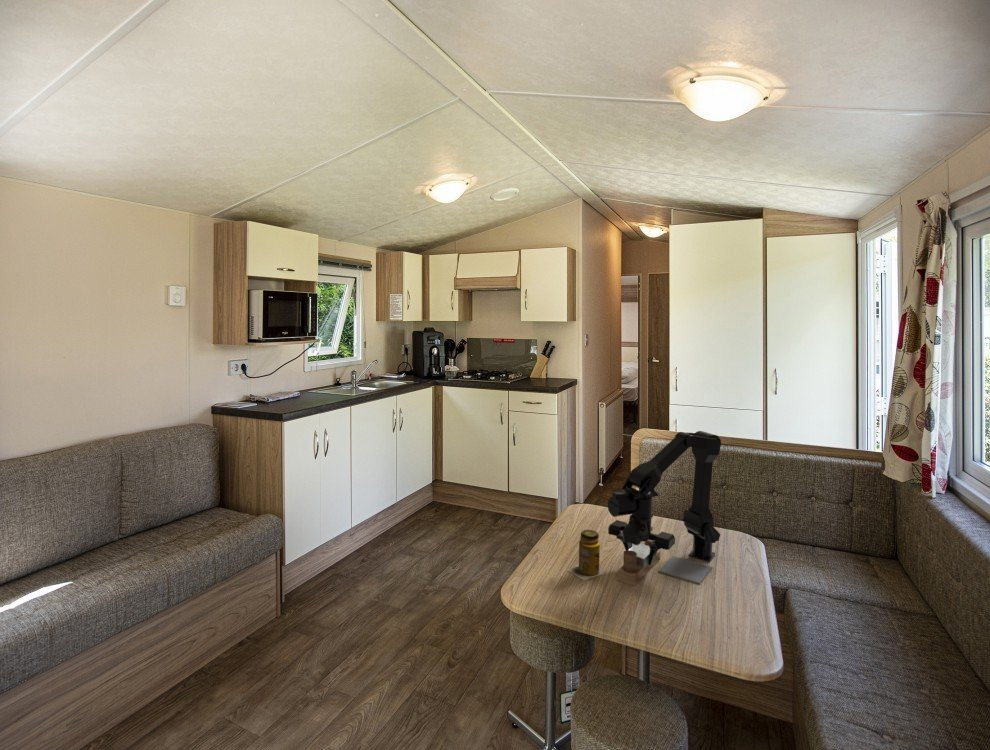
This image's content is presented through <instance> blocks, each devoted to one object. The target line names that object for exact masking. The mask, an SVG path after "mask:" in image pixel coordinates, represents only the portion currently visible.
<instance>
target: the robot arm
mask: <svg viewBox="0 0 990 750" xmlns="http://www.w3.org/2000/svg"><path fill="white" fill-rule="evenodd" d="M721 446H722V439H721V438H720V436H718V435H717V434H713V433H709V432H705V431H702V430H698V431H696V432H694V433H693V432H683V431H680V432H677V433H676V434H675V436H674V437H673V439H672V440H670V441H669V442H668V443H667V444H666V445H665V446H664V447H663V448H662V449H661V450H659V452H658V453H656V455H655V456H653V457H652V458H651V459H650V460H649V461H647V462H643V463H640V464H638V465H637V466H635V467H634V468H633V469H632V470H630V472H629V475H628V477H627V478H626V481H625V482H624V484H623V485H622V487H621V491H614V492H612V493H611V494H612V495H611V496H609V498H608V500H607V503H606V504H607V510H608V512H609V514H610V515H611V516H612V517H614V518H616V517H622V516H628V515H629V520H628V522H626V521H621V520H618V519H616V520H615V521H613V522H612V523H610V524H609V525H608V527H607V534H608V535H612V536H615V537H616V538H617V539H618V540H620V541H621V542H622V545H623V546H624V549H625V550H624V551H626V550H629V549H630V548H631V547H632V546H633V545H639V544H641V543H642V542H644V543H645V542H646V541H647V540H648V539H649V540H652V544H651V545H650V546H649V548H650V554H649V565H651V564H652V562H653V560H654V558H655V555H656V553H657V551H658V550H661V549H663V550H670V549H672V547H673V546H674V545H675V544H676V537H675V536H674V534H673V533H668V532H664V531H660V532H659V534H657V533H653V532H652V531H653V526H652V518H654V513H652V511H653V498H655V497H658V496H659V493H658V492H656V490H655V488H657V486H658V484H659V483H660V482H661V480H662V476H663V473H664V472H665V471H666V470H667V469H668V468H670V467H671V466H672V465H673V464H674V463H675V462H676V461H677V460H678V459H679V458H681V456H682V455H683V454H684V453H685V452H686V451H687V450H688V449H689V448H691V451H692V454H693V457H694V459H695V464H694V476H693V477H694V478H693V486H692V487H693V490H692V497H691V498H692V499H691V500H692V501H691V505H690V506H689V507H688V509H687V508H685V509H684V511H683V519H682V521H683V524H684V527H685V528H686V530H687V533H688V534H690V535H691V536H693V539H692V550H691V551H690V552H689V553H688V556H689V557H692V558H695V559H698V560H703V561H706V562H711V561H712V559H714V558H715V556H716V552H714V551H713V544H715V543H716V542H719V541H720V537H721V533H720V532H719V531H718V530H717V529H716V527H714V516H713V513H712V511H711V509H710V499H711V498H710V497H711V489H712V488H711V486H712V479H713V477H712V474H713V466H714V465H713V463H714V461H715V460H716V459H717V458H718V457H719V456H720V451H721ZM634 487H636V488H637V489H636V488H634Z"/></svg>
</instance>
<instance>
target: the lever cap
mask: <svg viewBox="0 0 990 750" xmlns="http://www.w3.org/2000/svg"><path fill="white" fill-rule="evenodd" d="M629 550H631V551H634V552H636V553H637V559H636V567H640V568H643V569H644V568H645V567H646V566H647V565H648V564H649V554H650V548H649V546H647V545H645V544H642V543H640V544H639V545H634V544H632V547H631V548H630V549H629Z"/></svg>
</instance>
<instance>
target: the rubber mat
mask: <svg viewBox="0 0 990 750" xmlns="http://www.w3.org/2000/svg"><path fill="white" fill-rule="evenodd" d="M712 569H713V567H712V566H709V565H707V564H702V563H701V562H700V563H699V562H697V561H696V562H695V561H693V560H688V559H685V558H682V557H678V556H674V555H672V556H671V557H670V558H669V559H668V560H667V561H665V563H664V564H663V565H662V566H661V567H660V568H659V569H658V573H660V574H662V575H663V574H664V575H667V576H671V577H674V578H677V579H680V580H683V581H687V582H691V583H693V584H697V585H701V584H702V583H703V581H705V579H706V577H707V576H708V574H710V572H711V570H712Z"/></svg>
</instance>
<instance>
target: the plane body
mask: <svg viewBox="0 0 990 750" xmlns="http://www.w3.org/2000/svg"><path fill="white" fill-rule="evenodd" d="M651 544H652V540H649V539H648V540H647V541H646V542H644V545H647V546H650V545H651ZM636 559H637V553H636V552H634V551H631V550H624V551H623V565H622V566H621V567H620V568H619V569H617V581H619V582H622V583H625V584H628V585H631V586H635V585H636V584H637V583H639V581H640V580H642V578H643V577H644V576H646V575H647V574H648V572H649V571H650V570H652V569H653V568H654V567H655V566H656V564H658V563H659V561H661V549H659V550H658V551H657V553H656V555H655V558H654V560H653V562H652V564H651V565H649V564H648V565H647V566H646V567H645V568H644V569H643V568H640V567H636Z"/></svg>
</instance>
